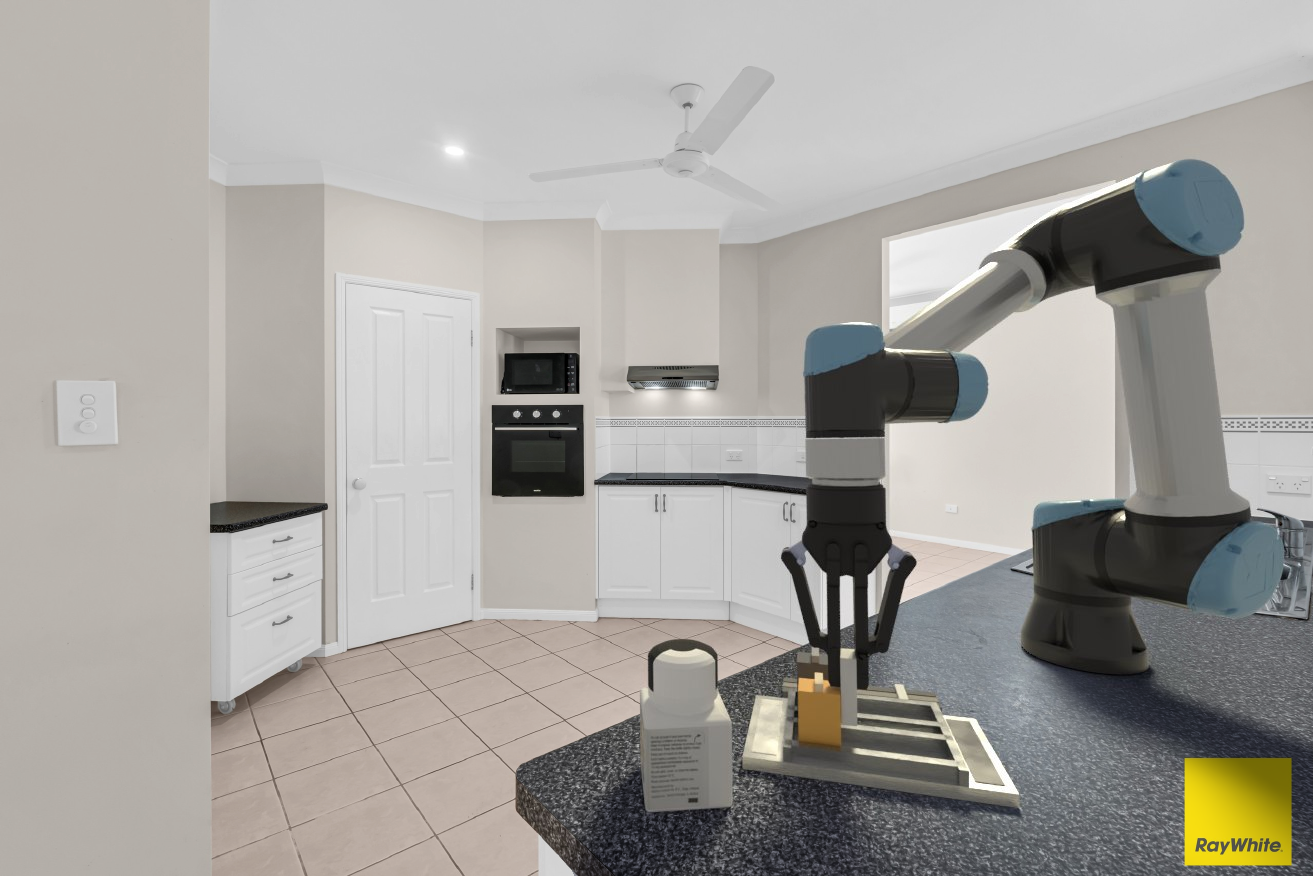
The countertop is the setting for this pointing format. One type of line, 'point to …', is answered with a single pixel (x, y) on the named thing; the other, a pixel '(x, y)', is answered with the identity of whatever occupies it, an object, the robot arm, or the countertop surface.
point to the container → (684, 730)
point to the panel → (883, 750)
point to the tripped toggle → (819, 711)
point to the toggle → (811, 665)
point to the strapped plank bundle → (878, 692)
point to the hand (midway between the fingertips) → (848, 718)
